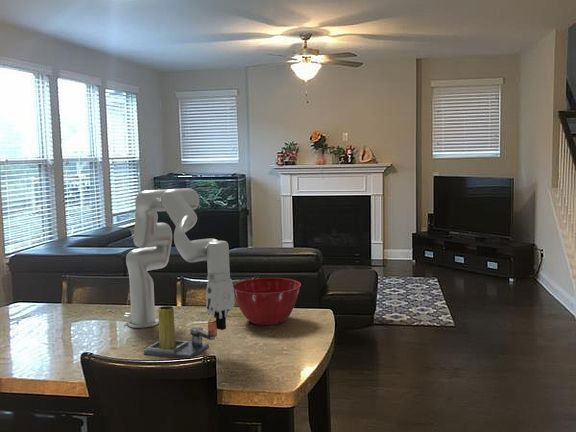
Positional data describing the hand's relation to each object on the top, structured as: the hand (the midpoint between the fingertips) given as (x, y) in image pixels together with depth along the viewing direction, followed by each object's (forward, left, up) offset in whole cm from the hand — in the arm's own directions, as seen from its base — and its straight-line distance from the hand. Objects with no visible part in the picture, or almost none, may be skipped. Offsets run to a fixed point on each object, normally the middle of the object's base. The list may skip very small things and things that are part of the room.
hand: (221, 328), depth 209 cm
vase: (-20, -3, -8) cm, 22 cm away
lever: (-7, 0, -3) cm, 7 cm away
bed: (-17, -2, -9) cm, 19 cm away
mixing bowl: (0, +43, -9) cm, 44 cm away
